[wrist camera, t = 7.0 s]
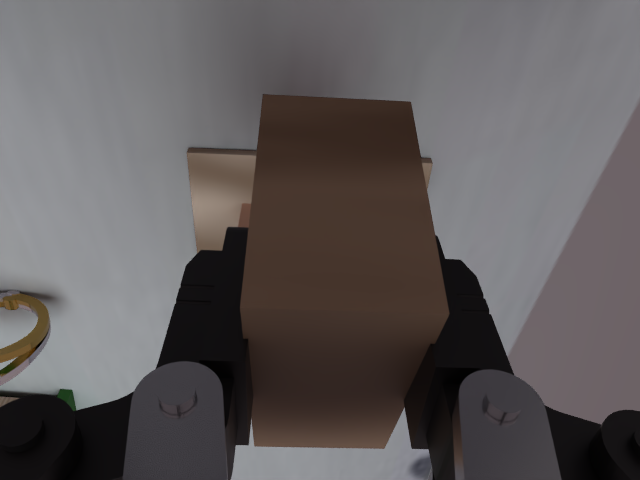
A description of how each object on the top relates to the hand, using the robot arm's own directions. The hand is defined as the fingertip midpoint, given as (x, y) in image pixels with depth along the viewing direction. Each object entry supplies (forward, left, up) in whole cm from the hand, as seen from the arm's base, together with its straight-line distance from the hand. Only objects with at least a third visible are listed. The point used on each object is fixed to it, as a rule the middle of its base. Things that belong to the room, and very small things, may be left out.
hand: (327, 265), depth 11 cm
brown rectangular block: (+2, 0, -3) cm, 3 cm away
